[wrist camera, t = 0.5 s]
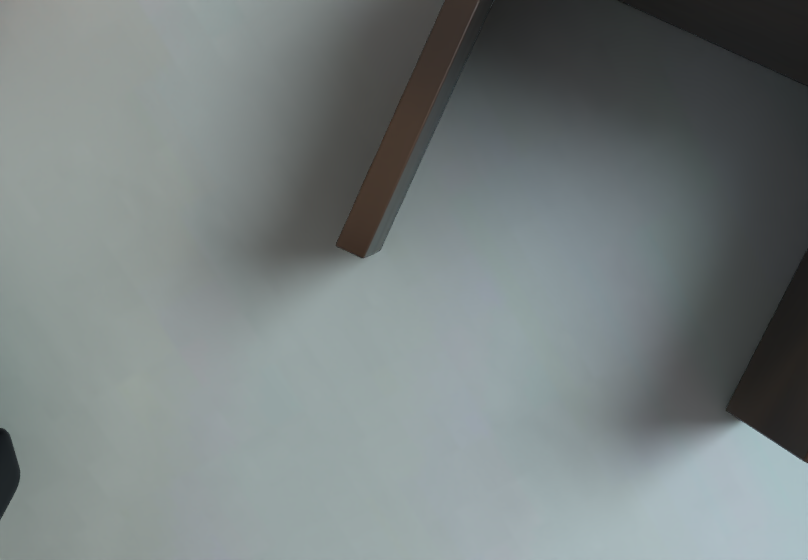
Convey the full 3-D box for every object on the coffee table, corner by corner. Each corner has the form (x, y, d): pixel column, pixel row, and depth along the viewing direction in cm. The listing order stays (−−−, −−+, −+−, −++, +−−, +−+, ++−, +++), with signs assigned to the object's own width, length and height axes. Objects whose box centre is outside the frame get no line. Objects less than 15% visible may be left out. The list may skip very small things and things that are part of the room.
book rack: (747, 420, 23) (911, 524, 15) (357, 241, 23) (313, 250, 15) (911, 103, 22) (1179, 36, 14) (502, -82, 22) (537, -253, 14)
